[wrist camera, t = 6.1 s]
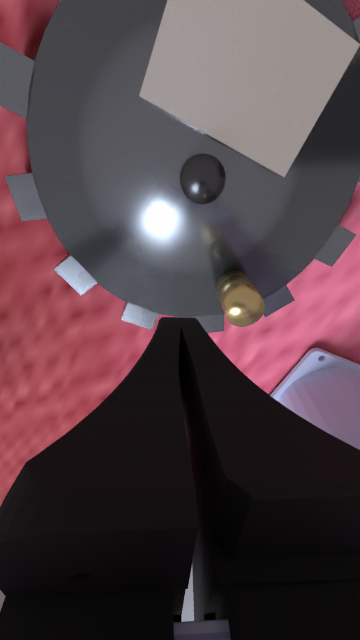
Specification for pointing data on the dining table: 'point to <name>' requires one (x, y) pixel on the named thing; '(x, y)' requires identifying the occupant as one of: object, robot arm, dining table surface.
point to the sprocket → (190, 148)
